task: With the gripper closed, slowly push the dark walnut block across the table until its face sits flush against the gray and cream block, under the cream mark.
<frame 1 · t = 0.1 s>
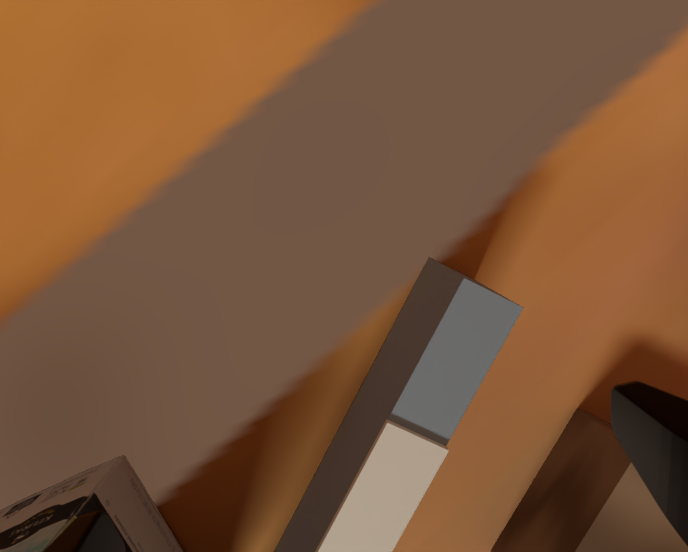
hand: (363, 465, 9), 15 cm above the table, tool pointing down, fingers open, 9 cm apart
gray and cream block: (349, 460, 25), on the table
walnut block: (602, 511, 27), on the table
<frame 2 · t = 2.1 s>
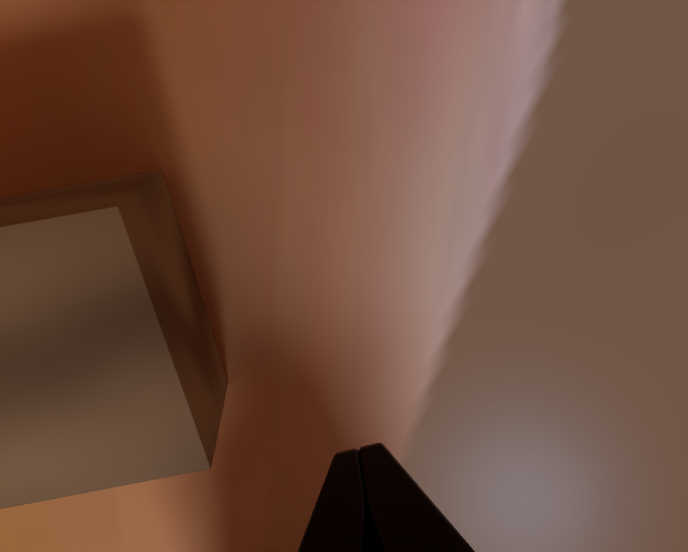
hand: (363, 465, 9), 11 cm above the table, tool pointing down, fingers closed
walnut block: (82, 305, 19), on the table
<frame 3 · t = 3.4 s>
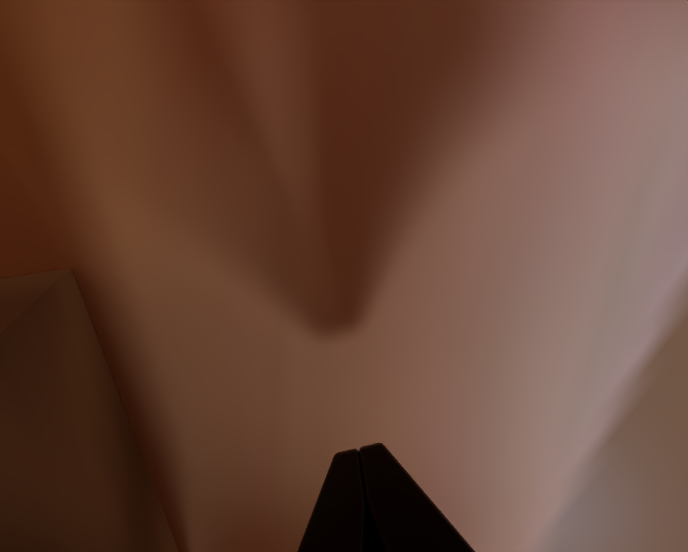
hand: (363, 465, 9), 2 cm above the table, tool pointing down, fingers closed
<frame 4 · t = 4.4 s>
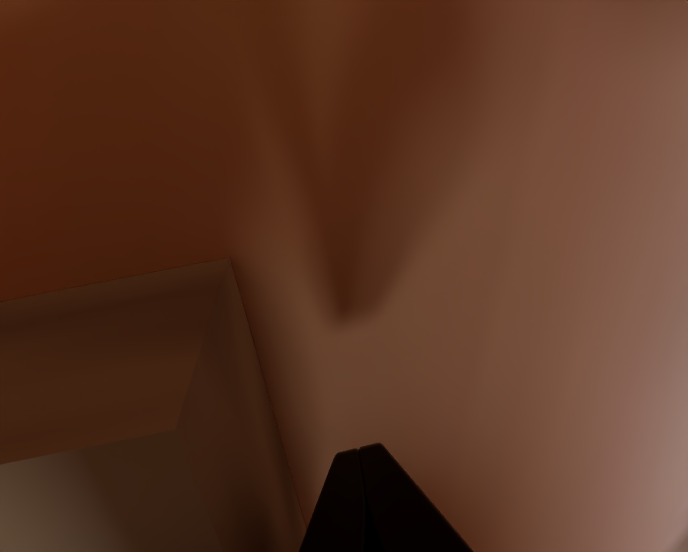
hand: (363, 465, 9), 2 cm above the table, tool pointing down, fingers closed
walnut block: (84, 474, 11), on the table, touching gripper
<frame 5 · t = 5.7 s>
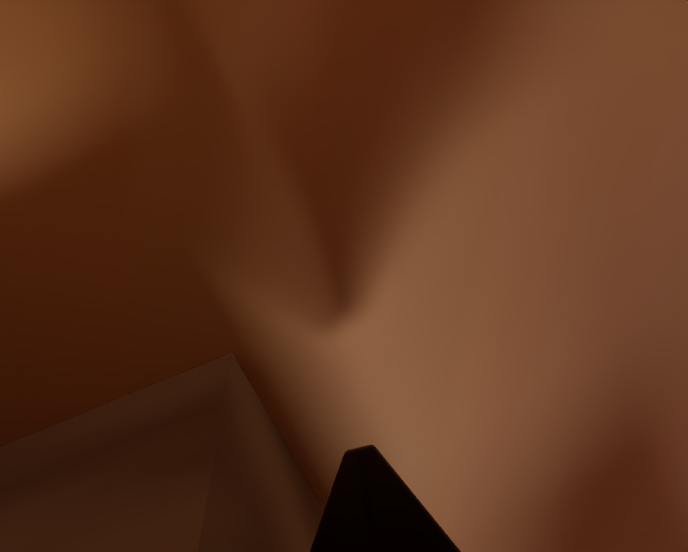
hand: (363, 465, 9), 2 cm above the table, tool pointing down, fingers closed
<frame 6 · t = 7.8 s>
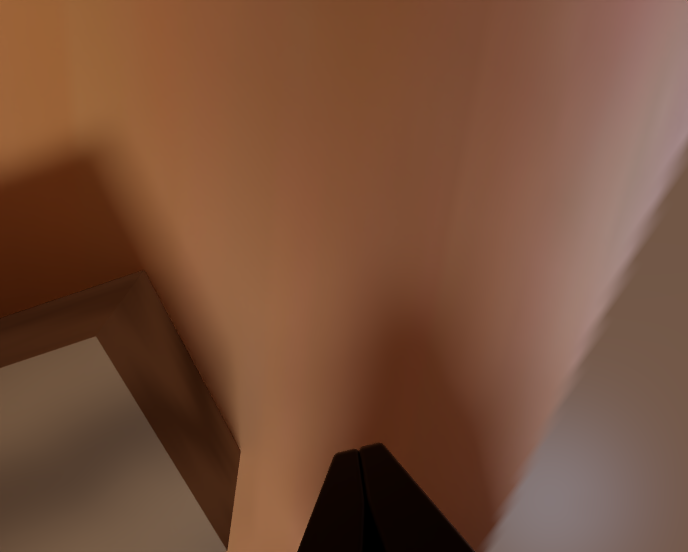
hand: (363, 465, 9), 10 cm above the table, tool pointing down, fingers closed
walnut block: (92, 400, 20), on the table
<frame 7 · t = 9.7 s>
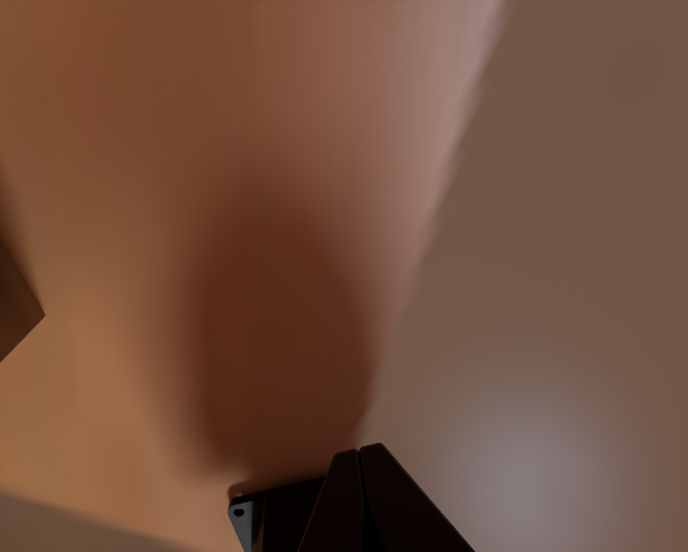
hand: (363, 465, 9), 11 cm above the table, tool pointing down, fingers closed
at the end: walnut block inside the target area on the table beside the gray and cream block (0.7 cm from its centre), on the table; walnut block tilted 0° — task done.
